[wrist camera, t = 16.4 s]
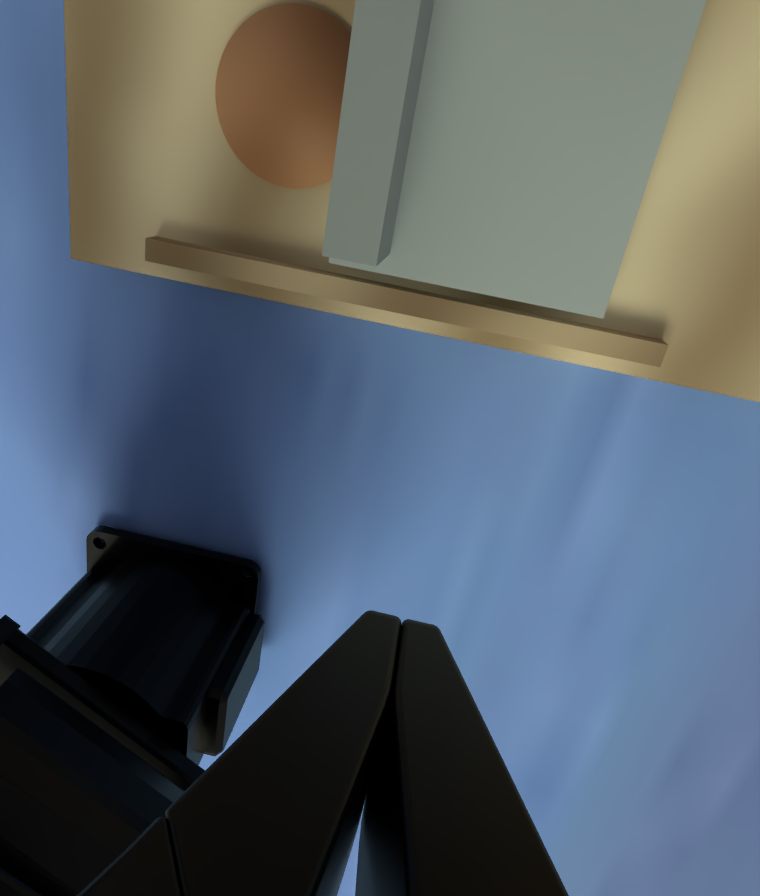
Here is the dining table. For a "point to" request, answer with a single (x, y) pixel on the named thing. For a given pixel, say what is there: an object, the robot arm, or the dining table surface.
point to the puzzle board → (311, 168)
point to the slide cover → (503, 141)
